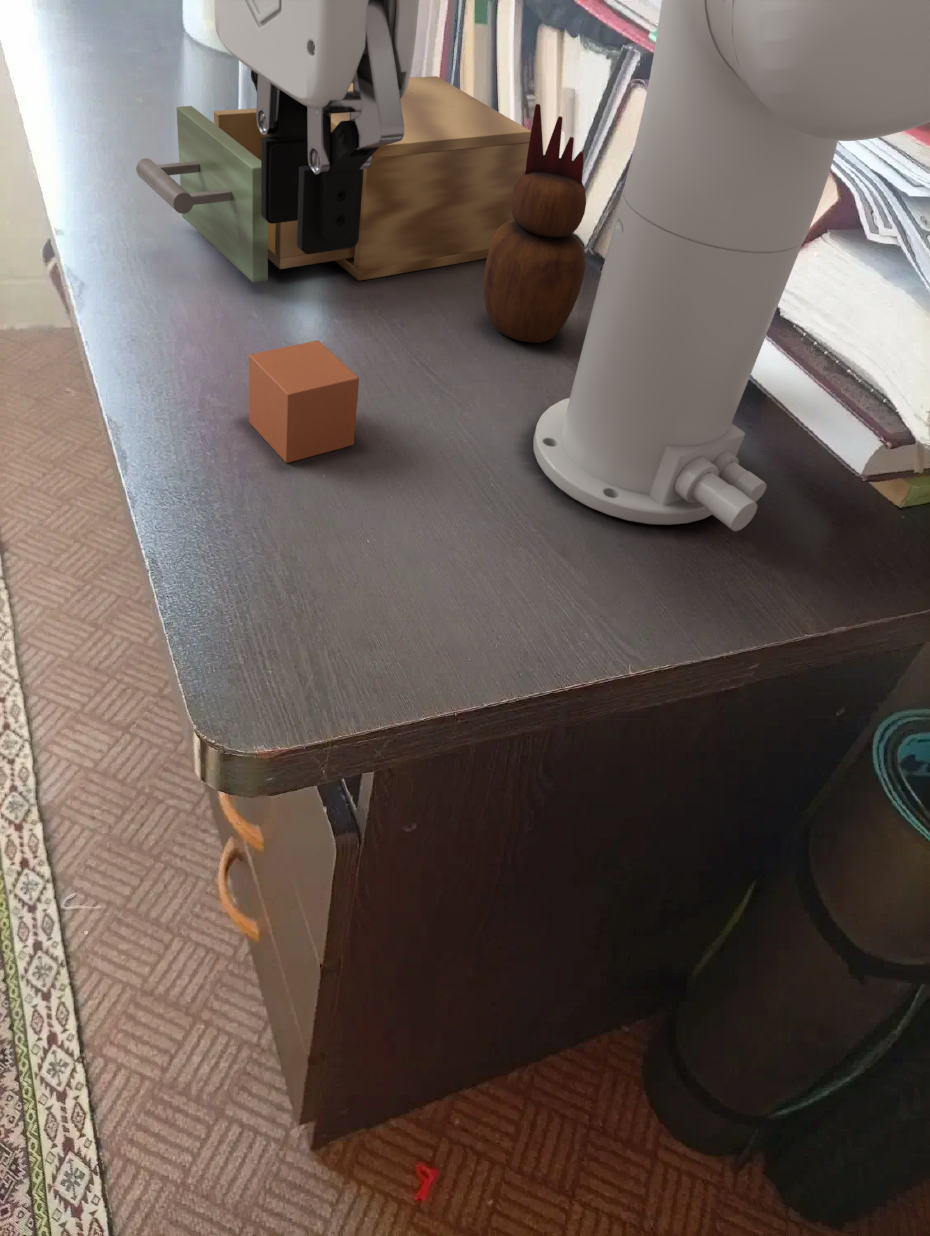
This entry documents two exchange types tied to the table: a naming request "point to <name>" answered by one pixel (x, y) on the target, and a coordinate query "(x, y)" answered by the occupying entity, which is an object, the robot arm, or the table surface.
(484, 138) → the cabinet
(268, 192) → the robot arm
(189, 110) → the drawer
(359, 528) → the table surface
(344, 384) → the block
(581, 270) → the wooden figurine
